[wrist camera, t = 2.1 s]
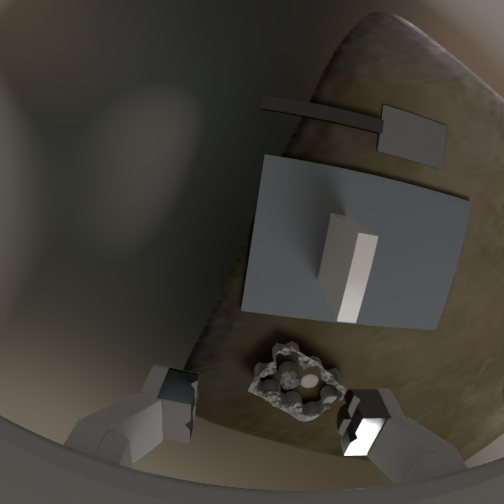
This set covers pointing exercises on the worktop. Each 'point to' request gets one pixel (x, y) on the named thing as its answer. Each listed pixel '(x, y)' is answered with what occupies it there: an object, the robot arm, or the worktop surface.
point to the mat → (369, 216)
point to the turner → (377, 128)
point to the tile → (346, 266)
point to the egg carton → (296, 384)
